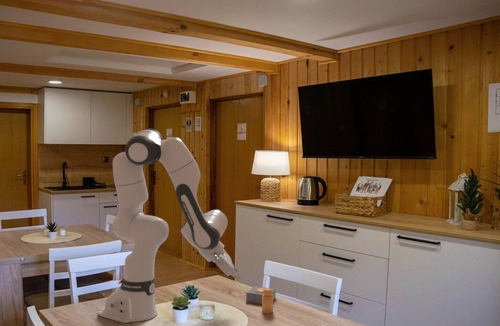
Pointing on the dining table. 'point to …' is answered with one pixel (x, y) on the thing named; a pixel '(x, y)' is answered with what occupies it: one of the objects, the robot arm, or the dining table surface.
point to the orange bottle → (267, 301)
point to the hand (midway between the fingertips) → (237, 275)
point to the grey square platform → (257, 294)
